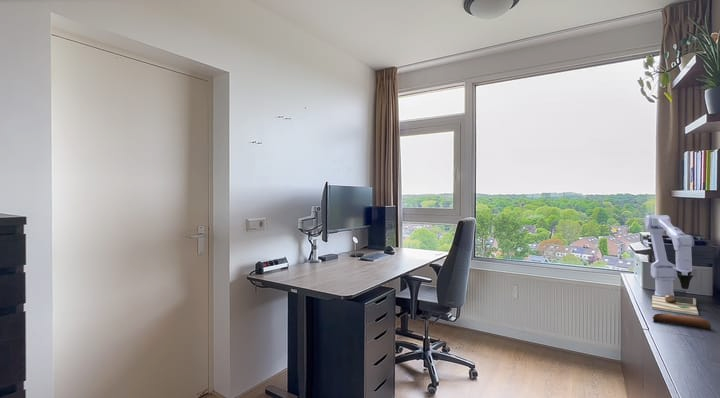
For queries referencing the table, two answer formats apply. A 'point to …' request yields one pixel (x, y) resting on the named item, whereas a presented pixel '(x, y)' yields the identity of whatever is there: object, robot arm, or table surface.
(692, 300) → the bronze ball with handle
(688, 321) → the sunglasses case
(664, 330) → the table surface
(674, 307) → the board
